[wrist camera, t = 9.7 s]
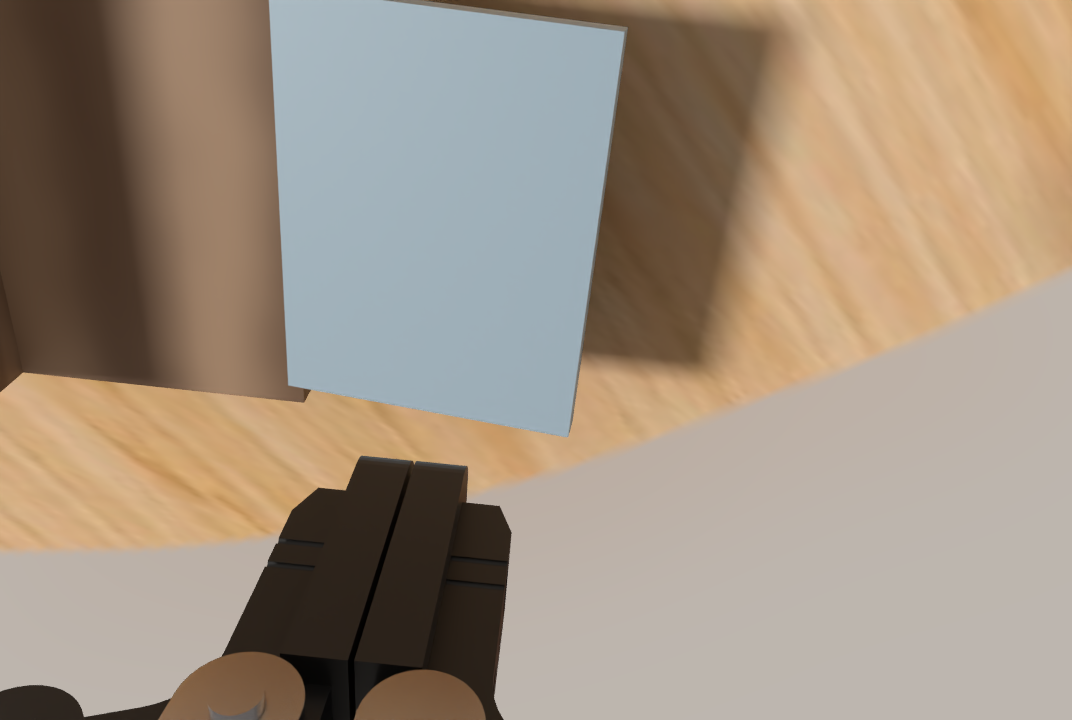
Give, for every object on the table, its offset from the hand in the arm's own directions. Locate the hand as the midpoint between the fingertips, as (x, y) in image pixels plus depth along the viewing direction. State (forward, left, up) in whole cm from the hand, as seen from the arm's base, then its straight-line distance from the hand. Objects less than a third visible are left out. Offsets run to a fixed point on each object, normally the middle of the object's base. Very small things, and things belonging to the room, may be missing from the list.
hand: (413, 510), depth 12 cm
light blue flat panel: (+7, +2, -17) cm, 18 cm away
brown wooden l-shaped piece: (+13, +2, -20) cm, 24 cm away
